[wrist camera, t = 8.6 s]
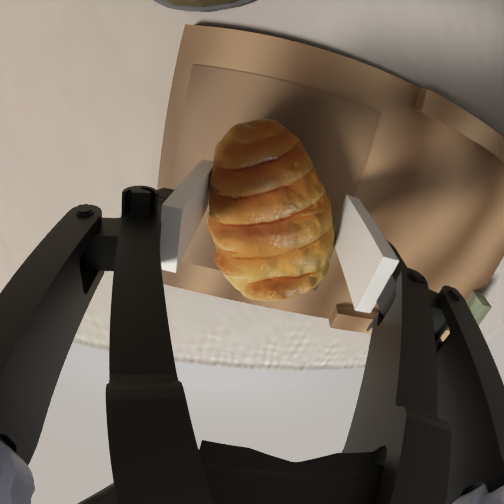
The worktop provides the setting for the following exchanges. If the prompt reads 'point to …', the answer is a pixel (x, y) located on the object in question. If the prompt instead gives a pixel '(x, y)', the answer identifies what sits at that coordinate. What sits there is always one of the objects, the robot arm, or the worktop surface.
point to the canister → (202, 4)
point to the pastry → (268, 213)
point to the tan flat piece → (343, 161)
